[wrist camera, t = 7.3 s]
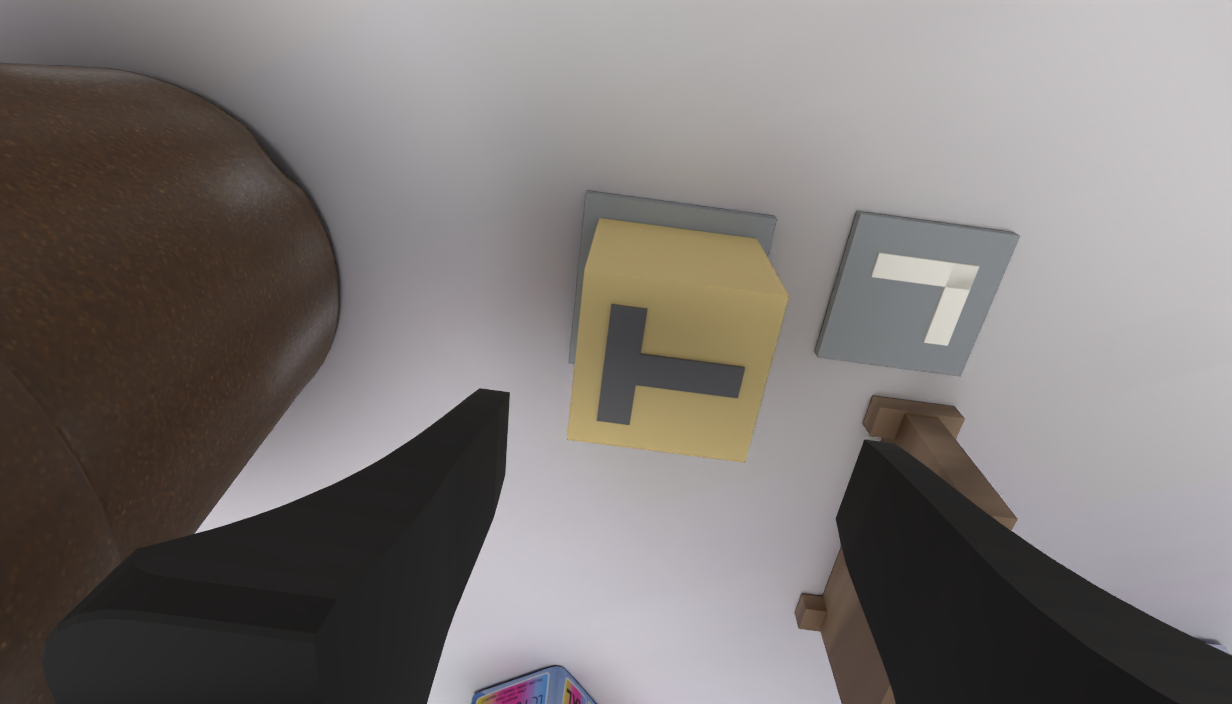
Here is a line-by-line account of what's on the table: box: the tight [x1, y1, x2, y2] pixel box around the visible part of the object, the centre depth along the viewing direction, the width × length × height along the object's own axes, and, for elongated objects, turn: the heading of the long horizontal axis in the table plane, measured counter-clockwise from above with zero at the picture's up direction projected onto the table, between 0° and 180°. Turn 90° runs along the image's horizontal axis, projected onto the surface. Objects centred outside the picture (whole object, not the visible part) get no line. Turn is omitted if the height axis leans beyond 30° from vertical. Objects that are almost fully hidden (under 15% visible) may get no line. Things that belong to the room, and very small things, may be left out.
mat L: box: [815, 211, 1020, 376], centre depth 20 cm, size 5×5×1 cm
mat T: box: [569, 191, 777, 364], centre depth 21 cm, size 6×6×1 cm
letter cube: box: [567, 218, 789, 463], centre depth 18 cm, size 5×5×5 cm
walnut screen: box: [795, 396, 1017, 704], centre depth 22 cm, size 3×11×6 cm, turn 173°
